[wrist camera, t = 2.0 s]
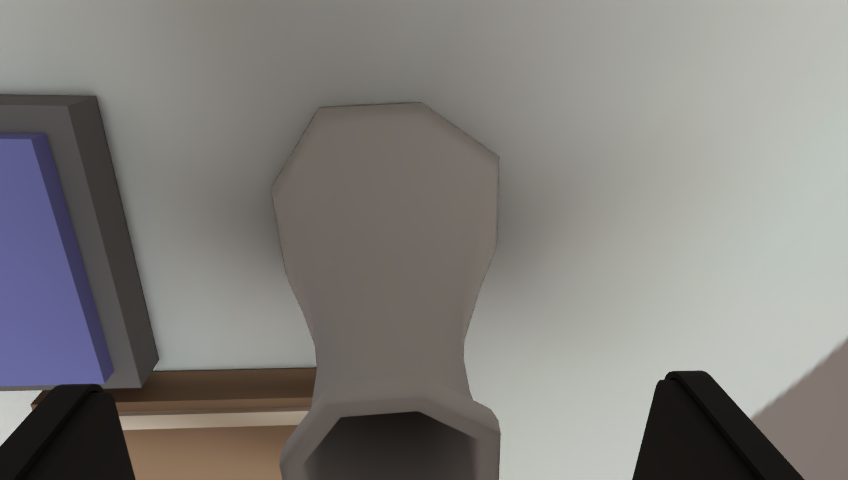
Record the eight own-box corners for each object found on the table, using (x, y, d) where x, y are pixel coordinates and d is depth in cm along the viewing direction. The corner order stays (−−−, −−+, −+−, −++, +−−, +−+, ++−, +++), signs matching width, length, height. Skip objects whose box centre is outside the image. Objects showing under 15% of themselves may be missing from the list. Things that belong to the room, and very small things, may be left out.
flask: (461, 328, 18) (535, 649, 9) (254, 285, 17) (108, 611, 8) (535, 133, 15) (745, 325, 6) (294, 64, 14) (136, 184, 5)
